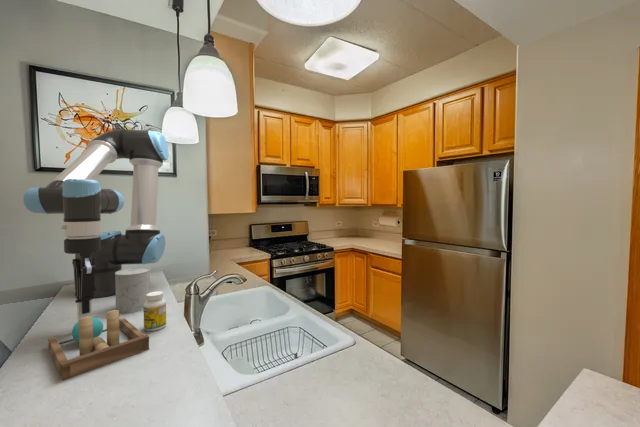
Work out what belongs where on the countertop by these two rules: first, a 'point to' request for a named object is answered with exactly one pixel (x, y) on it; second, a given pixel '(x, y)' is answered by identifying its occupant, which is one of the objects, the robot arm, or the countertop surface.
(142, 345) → the frame
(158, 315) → the supplement bottle
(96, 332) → the ball
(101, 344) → the front pin
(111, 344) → the pin
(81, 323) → the pin
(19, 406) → the countertop surface
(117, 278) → the speckled white cylinder
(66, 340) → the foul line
